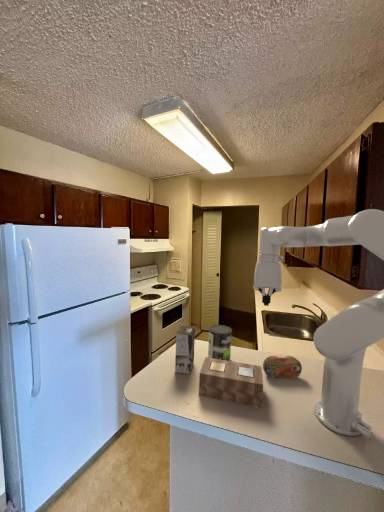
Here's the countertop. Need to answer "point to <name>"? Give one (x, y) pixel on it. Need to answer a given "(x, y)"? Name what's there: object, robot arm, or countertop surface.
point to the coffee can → (219, 342)
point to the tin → (282, 367)
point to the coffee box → (184, 349)
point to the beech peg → (217, 367)
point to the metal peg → (245, 372)
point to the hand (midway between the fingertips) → (266, 304)
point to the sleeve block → (231, 383)
